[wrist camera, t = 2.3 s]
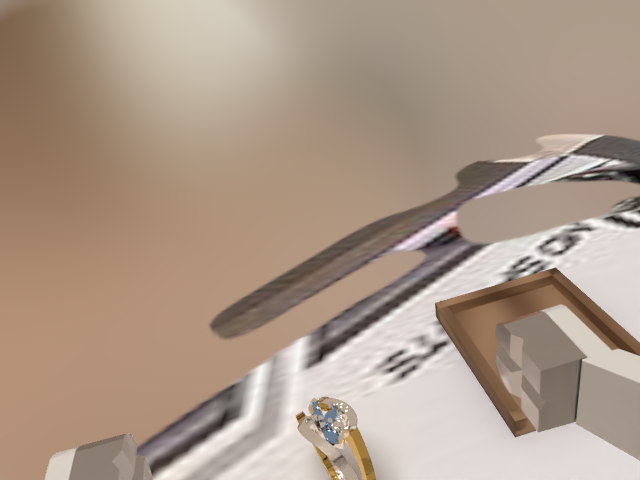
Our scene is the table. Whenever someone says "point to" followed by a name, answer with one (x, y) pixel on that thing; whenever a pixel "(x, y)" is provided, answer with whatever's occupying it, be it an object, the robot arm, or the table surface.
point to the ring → (335, 438)
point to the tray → (509, 303)
